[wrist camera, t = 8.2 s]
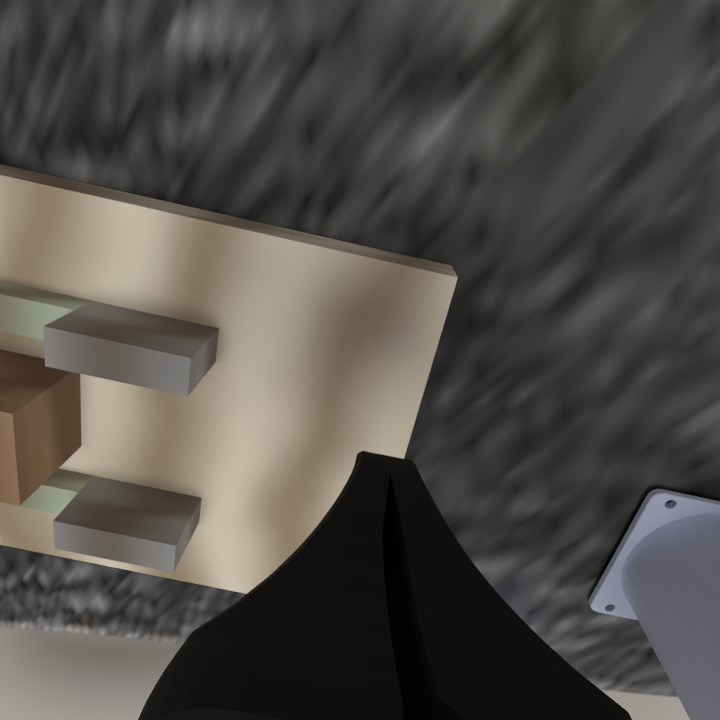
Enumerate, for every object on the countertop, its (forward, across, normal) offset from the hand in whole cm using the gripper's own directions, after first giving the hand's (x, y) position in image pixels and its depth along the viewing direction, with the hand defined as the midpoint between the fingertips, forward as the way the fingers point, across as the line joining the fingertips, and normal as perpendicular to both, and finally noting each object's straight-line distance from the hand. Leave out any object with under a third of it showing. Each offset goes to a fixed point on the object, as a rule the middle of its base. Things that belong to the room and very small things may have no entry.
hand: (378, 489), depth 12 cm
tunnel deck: (+10, +12, +5) cm, 16 cm away
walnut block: (+8, +14, +5) cm, 17 cm away
